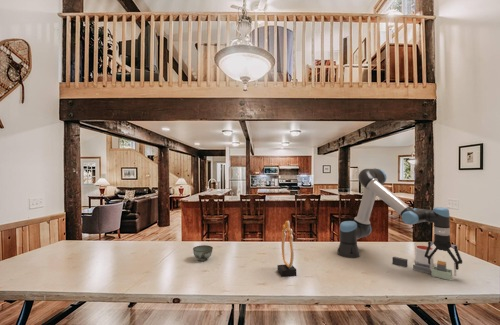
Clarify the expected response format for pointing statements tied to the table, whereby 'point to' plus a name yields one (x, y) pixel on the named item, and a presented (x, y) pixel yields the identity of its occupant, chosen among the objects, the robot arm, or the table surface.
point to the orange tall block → (441, 266)
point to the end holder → (442, 273)
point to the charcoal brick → (399, 261)
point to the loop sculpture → (287, 268)
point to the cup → (422, 254)
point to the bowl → (202, 252)
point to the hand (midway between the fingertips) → (443, 272)
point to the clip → (422, 268)
